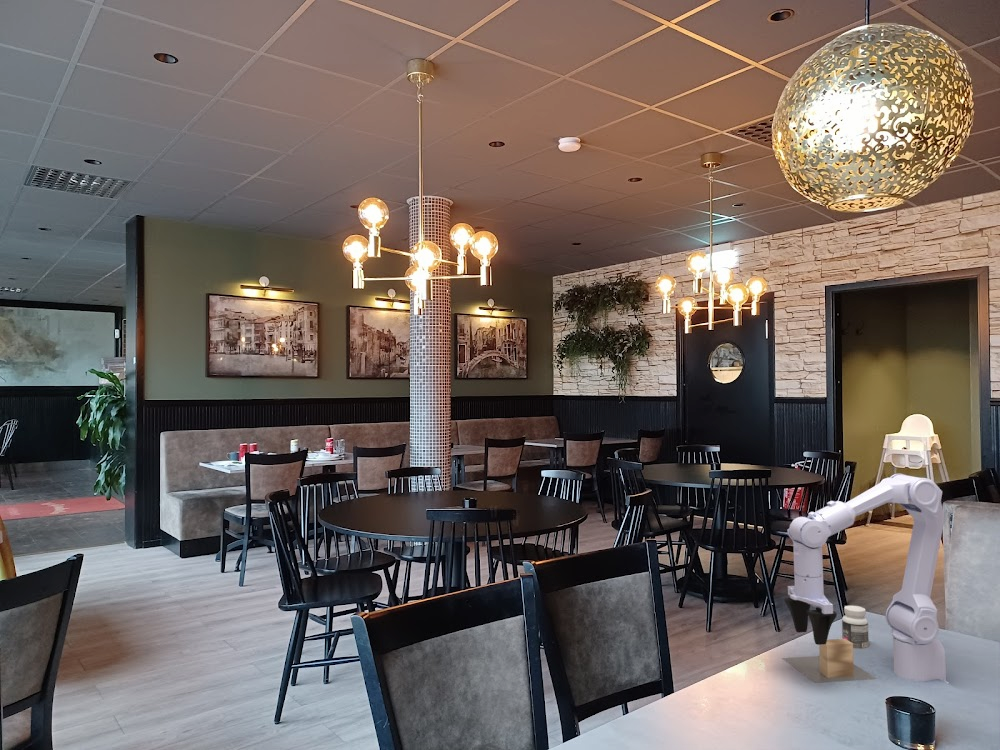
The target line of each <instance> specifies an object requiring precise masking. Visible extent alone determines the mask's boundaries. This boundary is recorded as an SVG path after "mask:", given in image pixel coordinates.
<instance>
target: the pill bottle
mask: <svg viewBox="0 0 1000 750" xmlns="http://www.w3.org/2000/svg"><path fill="white" fill-rule="evenodd" d="M843 612H844V614H845V615H843V616H842V619H841V630H842V637H841V639H846V640H848V641H850V642H851V643H853V649H867V648H868V647H869V645H870V643H869V621H868V619H867V618H866V614H867V613H866V608H865V607H862V606H859V605H845V606H844V608H843Z"/></svg>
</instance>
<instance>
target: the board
mask: <svg viewBox="0 0 1000 750" xmlns="http://www.w3.org/2000/svg"><path fill="white" fill-rule="evenodd" d="M781 659H782V660H784V661H785V662H786V663H787V664H789V665H790V666H792V667H793V668H795V669H796V670H797V671H798V672H800V673H801V674H803V676H805V677H807V678H808V679H810V680H811V681H812V682H813V683H815V684H818V683H819V684H820V683H832V682H833V683H834V682H835V683H836V682H849V681H852V682H853V681H867V680H877V679H878V678H877V677H876V676H874V675H872V674H870V673H869V672H867V671H865V670H864V669H862V668H860V666H857V665H856V664H854V676H848V677H832V678H827V677H826V676H825V675H823V674H822V673H820V655H818V656H816V655H815V656H801V657H800V656H799V657H798V656H797V657H783V658H781Z"/></svg>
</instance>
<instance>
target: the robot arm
mask: <svg viewBox="0 0 1000 750" xmlns="http://www.w3.org/2000/svg"><path fill="white" fill-rule="evenodd" d="M942 495H943V490H942V489H940V487H939V486H938V485H937V483H935V482H934V481H933V480H932V479H930V478H926V477H919V476H918V477H917V476H912V475H907V474H904V473H895V474H892V475H891V476H890V477H886V478H882V480H881V481H880V482H879V483H877V484H876V485H874V486H873V487H871V488H869V489H867V490H866V491H863V492H862V493H860V494H859V495H856V496H855V497H853V498H851V499H850V500H848V501H847V502H843V501H840V500H836V501H834V500H830V501H828V502H826V504H827V505H826V506H824V507H822V508H820V509H817V510H816V511H815V512H814V511H810V512H809V513H808V515H807V517H806V516H799V517H796V518H794V519H793V520H792V522H791V523H790V524H789V526H788V527H789V528H788V529H787V531H786V532H787V535H788V537H789V538H790V539H791V541H792V544H793V567H794V568H793V573H794V574H793V575H794V585H787V595H788V596H789V597H786V598H784V602H785V604H786V605H787V609H788V610H789V611H790V615H791V618H792V621H793V624H794V629H795V631H796V633H799V634H800V633H806V632H807V631H808V626H809V625H808V623H809V621H810V623H811V627H812V634H813V640H814V641H813V642H814V644H815V645H817V646H819V645H822V644H826V642H827V640H828V637H829V634H830V633H829V632H830V631H831V627H832V625H833V623H834V621H835V619H836V618H837V616H838V615H837V612H836V611H834V604H833V603H831V602H830V601H829V599H828V598H827V597H826V595H825V593H824V589H825V588H824V569H823V568H824V566H823V565H824V564H823V563H824V562H823V546H825V544H826V542H827V541H828V538H829V537H831V536H833V535H835V534H837V533H839V532H842V531H843V530H845V529H847V528H849V527H851V526H853V525H854V523H855V519H856V517H857V516H860V515H863V514H865V513H867V512H870V511H872V510H874V509H877V508H878V507H880V506H883V505H885V504H888V503H893V504H898V505H900V506H901V507H903V508H904V509H905V510H906V512H907V513H908V514H909V516H911V518H912V519H913V524H912V531H911V537H910V542H909V548H908V551H907V552H908V553H907V557H906V564H905V568H904V575H903V580H902V585H901V589H900V591H898V592H896V593H894V595H892V600H891V602H890V603H889V606H888V607H887V609H886V611H885V620H886V623H887V625H888V626H889V627H890V628H891V633H892V646H893V647H892V648H893V649H892V651H893V652H892V653H893V673H894V675H895V676H897V677H900V678H902V679H905V680H907V681H915V682H929V681H933V680H934V681H935V680H941V681H942V682H945V683H946V684H948V685H949V684H950V683H949V682H948V681H947V670H946V669H947V667H946V665H947V664H946V658H947V657H946V651H945V648H944V646H943V644H942V643H941V641H940V640H939V639H937V636H938V634H939V631H940V630H939V628H940V627H939V623H938V619H937V618H938V612H939V611H938V609H937V607H936V605H935V604H934V602H933V600H932V599H931V596H932V589H933V583H934V579H935V573H936V568H937V562H938V558H939V550H940V544H941V541H942V539H941V538H942V534H943V528H944V523H945V512H944V508H943V505H942ZM811 607H814V608H815V609H810V608H811ZM808 620H809V621H808Z"/></svg>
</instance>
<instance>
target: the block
mask: <svg viewBox="0 0 1000 750" xmlns="http://www.w3.org/2000/svg"><path fill="white" fill-rule="evenodd" d="M818 646H819V648H818V649H819V656H820V673H822V674H823V675H825V676H826V677H827V678H832V677H848V676H854V665H855V663H854V648H853V643H851V642H850V641H848V640H846V639H842V638H836V639H831V638H830V639H827V642H826V644H822V645H818Z"/></svg>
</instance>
